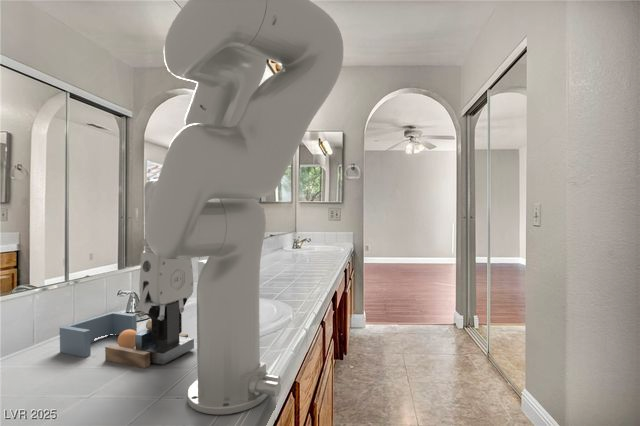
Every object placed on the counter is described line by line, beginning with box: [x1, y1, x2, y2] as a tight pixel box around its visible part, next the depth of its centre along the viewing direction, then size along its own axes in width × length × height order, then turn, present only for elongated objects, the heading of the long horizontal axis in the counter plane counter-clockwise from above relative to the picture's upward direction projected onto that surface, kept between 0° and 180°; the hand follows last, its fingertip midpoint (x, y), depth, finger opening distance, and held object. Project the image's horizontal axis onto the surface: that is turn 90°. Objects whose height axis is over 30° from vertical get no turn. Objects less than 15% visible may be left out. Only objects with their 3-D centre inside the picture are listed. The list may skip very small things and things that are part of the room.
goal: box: [59, 311, 138, 358], centre depth 81 cm, size 7×12×5 cm, turn 158°
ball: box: [116, 329, 138, 349], centre depth 78 cm, size 4×4×4 cm
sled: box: [134, 302, 195, 365], centre depth 74 cm, size 8×8×10 cm
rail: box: [104, 332, 189, 369], centre depth 76 cm, size 10×11×2 cm
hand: (167, 334), depth 74 cm, fingers closed on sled, 3 cm apart
